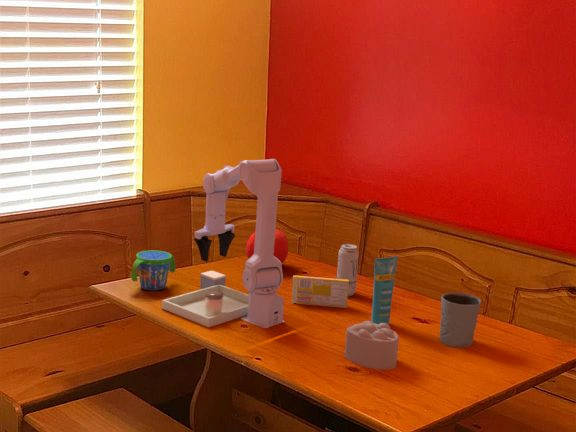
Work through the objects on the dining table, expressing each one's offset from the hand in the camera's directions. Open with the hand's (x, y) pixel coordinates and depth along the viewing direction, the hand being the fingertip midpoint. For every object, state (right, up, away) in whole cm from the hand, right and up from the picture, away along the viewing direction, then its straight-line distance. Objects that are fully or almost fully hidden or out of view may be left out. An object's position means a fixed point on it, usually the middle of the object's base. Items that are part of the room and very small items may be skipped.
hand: (213, 258), depth 247 cm
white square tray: (+1, -14, -15) cm, 20 cm away
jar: (+2, -15, -22) cm, 26 cm away
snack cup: (-18, -9, +2) cm, 20 cm away
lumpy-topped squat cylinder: (+43, -23, -42) cm, 64 cm away
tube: (+48, -17, -17) cm, 53 cm away
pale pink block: (-1, -10, +2) cm, 10 cm away
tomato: (+15, -5, +27) cm, 31 cm away
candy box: (+31, -14, -5) cm, 34 cm away
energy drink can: (+39, -11, +6) cm, 42 cm away
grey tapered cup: (+67, -21, -27) cm, 75 cm away
